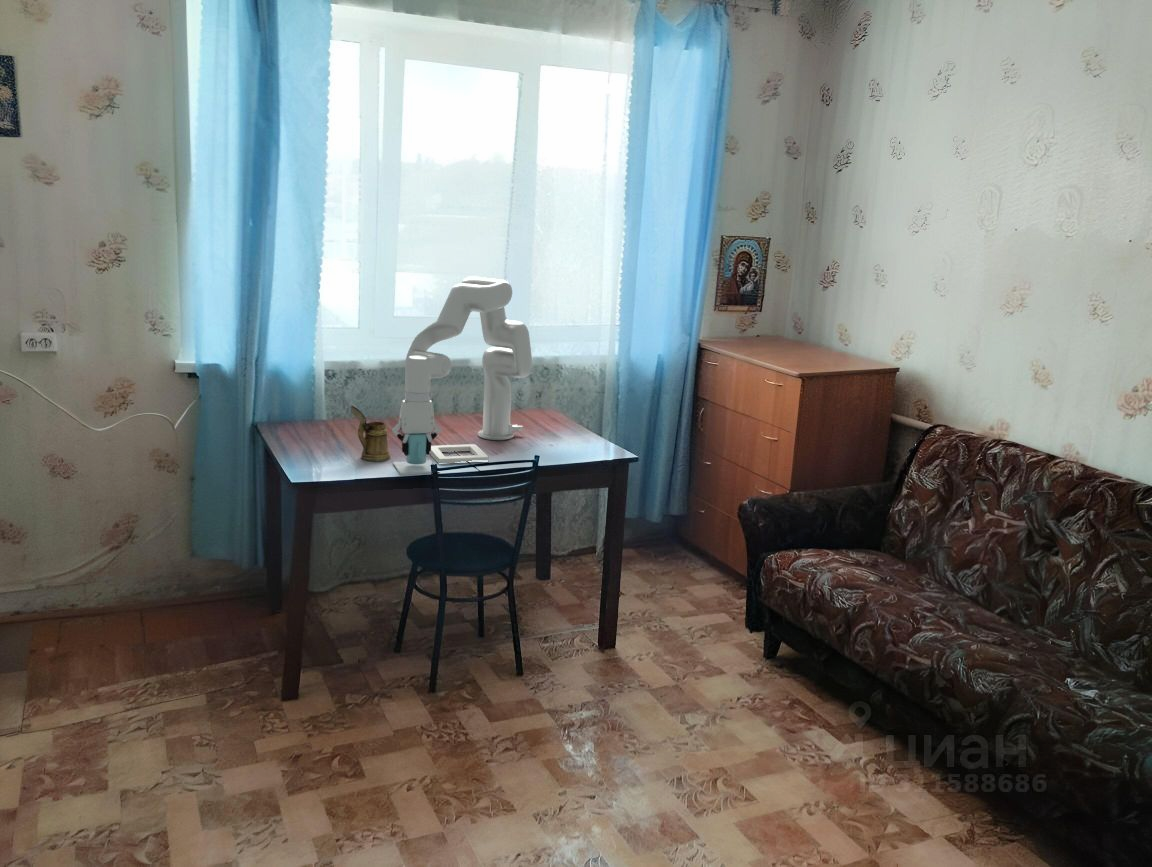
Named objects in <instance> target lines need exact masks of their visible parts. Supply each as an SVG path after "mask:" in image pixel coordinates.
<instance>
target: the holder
mask: <svg viewBox="0 0 1152 867" xmlns="http://www.w3.org/2000/svg"><path fill="white" fill-rule="evenodd" d="M454 451H471V452H472V453H473V454H474V455H473V454H472V453H471V452H470V453H471V454H472V455H454V456H453V455H451V456H445V454H444V453H442V452H448V453H455V452H454ZM429 455H431V457H432V458H433V459H434V460H435V461H436V462H438V463H455V462H461V461H472V460H489V456H488V455H487V454H486V453H485V452H484V451H483V450H482V449H481V448H480V447H479V446H478V445H477V444H476V443H470V444H469V443H468V444H445V445H444V444H443V445H442V444H441V445H431V451H429ZM438 463H437V464H438Z"/></svg>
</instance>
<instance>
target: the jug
mask: <svg viewBox="0 0 1152 867" xmlns="http://www.w3.org/2000/svg"><path fill="white" fill-rule="evenodd" d="M407 443H408V455H407V456H406V461H405V462H407V463H409V464H424V463H426V461H427V454H426V448H427V434H409V437H408V439H407Z"/></svg>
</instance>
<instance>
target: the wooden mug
mask: <svg viewBox="0 0 1152 867" xmlns="http://www.w3.org/2000/svg"><path fill="white" fill-rule="evenodd" d="M350 412H351V413H352V416H354V417H355V418H356V419H357V420H358V422H359V425H358V430H357V435H358V439H359V442H360V443H361V445H362V452H361V456H360V458H361V459H362V458H363V459H362V460H364V461H368V462H384V461H385V462H386V461H387V460H390V458H391V453H390V451H389V450H390V449H389V444H388V443H389V442H388V433H389V432H388V427H387V425H386V424H387V423H385V422H383V421H370V422H369V421H368V422H367V418H366V417H365V415H364V414H363V412H362V411H360V410H359V408H357V407H356V406H353V405H351V406H350Z"/></svg>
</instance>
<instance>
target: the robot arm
mask: <svg viewBox="0 0 1152 867" xmlns="http://www.w3.org/2000/svg"><path fill="white" fill-rule="evenodd" d="M512 298H513V288H512V285H511V284H510V282H508V281H506V280H505V279H499V278H497V279H496V278H489V277H488V278H487V277H480V276H468V277H465V278H464V279H463V280H462V281H461V283H457V284H455V285H454V286H452V288H451V289H450V292H449V294H448V296H447V298H446V300H445V302H444V304H443V306H442V309H441V311H440V313H439V315H438V318H437V319H436V321H434V322H433V323H432V324H430V325H428V326H426V328H424V329H423V330H422V331H421V332H419V333H418V334H417V335H416V336H415V337H414V339H413V341H412V343H411V345H410V347H409V348H408V351H407V353H406V356H405V367H404V368H405V371H404V372H405V373H404V374H405V376H404V380H405V382H404V399H403V400H401V404H400V405H401V406H400V409H399V422H398V423H396V425H395V426H394V427H393V428H392V429H391V430H390V431H391V432H392V434H394V436H395V437H397V438H398V440H400V442H401V451H402V452H401V453H403V454H404V456H405V457H407V455H408V443H407V439H408V437H409V434H427V448H426V456H429V455H430V453H429V451H431V446H432V442H433V441H434V439H435V438H437V436H438V435H440V434H441V433H442V431H443V429H442V428H441V426H440V425H439V424H437V422H436V421H435V414H434V405H433V401H432V400H431V399H432V398H435V397H436V393H435V392H432V391H431V379H441V378H445V377H447V375H449V374H450V373H451V370H452V367H453V366H452V365H453V364H452V361H451V358H450V357H449V356H448V355H446V354H443V353H438V352H432V351H428V350H429V349H430V347H432V346H434V345H435V344H437V343H439V342H442V341H445V340H448V339H451V338H454V337H457V336H459V335H460V334H462V333H463V331H464V328H465V325H466V323H467V322H468V319H469V316H470V315H471V313H472V312H475V313H476V312H477V313H479V316H480V324H481V331H482V337H483V341H484V343H485V344H487V345H488V346H490V347H489V348H487V349H485V351H483V355H482V364H481V365H482V370H483V378H484V379H483V381H484V383H483V386H484V387H483V388H484V389H483V410H482V412H483V414H482V415H483V416H482V429H480V430H479V431H478V432H477V436H478V437H480V438H482V439H485V440H490V441H491V440H492V441H505V440H506V441H507V440H511V439H513V438H514V437H515V436H514V435H515V432H523V431H524V426H523V425H518V424H512V423H511V410H512V406H511V405H512V384H511V382H510V379H509V377H510V378H511V377H512V378H516V379H517V378H519V379H523V378H526V377H528V376H529V375H530V374H531V372H532V368H533V358H532V357H533V356H532V347H531V339H530V332H529V329H528V327H527V325H526V324H525V323H523V322H521V321H519V320H510V319H508V318H507V316H506V310H505V307H506V306H507V305H509V303H510V302H511V299H512ZM491 346H492V347H491ZM399 430H400V431H401V433H402V434H401V433H400V432H399Z"/></svg>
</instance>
